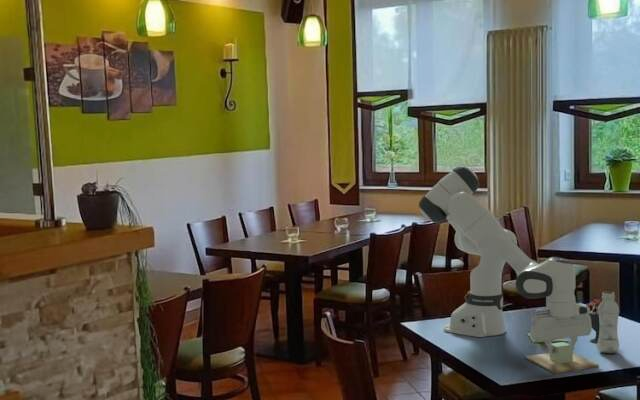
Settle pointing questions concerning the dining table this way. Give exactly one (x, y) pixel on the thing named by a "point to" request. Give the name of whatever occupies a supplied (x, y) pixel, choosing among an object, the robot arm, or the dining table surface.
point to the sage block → (562, 352)
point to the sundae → (595, 321)
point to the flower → (594, 302)
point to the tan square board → (556, 367)
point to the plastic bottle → (608, 324)
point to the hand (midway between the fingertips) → (561, 351)
